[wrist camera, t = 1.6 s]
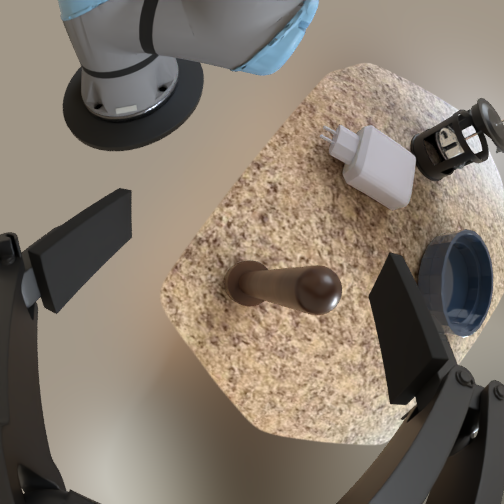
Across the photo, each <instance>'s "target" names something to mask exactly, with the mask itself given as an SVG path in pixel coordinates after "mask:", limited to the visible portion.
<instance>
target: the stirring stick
mask: <svg viewBox="0 0 504 504" xmlns="http://www.w3.org/2000/svg"><path fill="white" fill-rule="evenodd" d="M224 285H225V290H226V292H227V294H228V295H229V297H230V298H231V299H232V300H234V301H235V302H237V303H239V304H241V305H244V306H256V305H259V304H261V303H262V302H264V301H268V302H271V303H274V304H278V305H281V306H284V307H287V308H291V309H294V310H297V311H301V312H304V313H308V314H311V315H323V314H326V313H328V312H330V311H332V310H333V309H334V308H335V307H336V306H337V304H338V303H339V301H340V299H341V295H342V285H341V281H340V279H339V277H338V276H337V274H336V273H335V272H334V271H332V270H331V269H329V268H327V267H325V266H306V267H296V268H285V269H274V270H268V269H267V268H266V267H265V266H264V265H263V264H261V263H259V262H256V261H244V262H240V263H237V264H235V265H234V266H232V267H231V268H230V269H229V270H228V272H227V274H226V276H225V281H224Z"/></svg>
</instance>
